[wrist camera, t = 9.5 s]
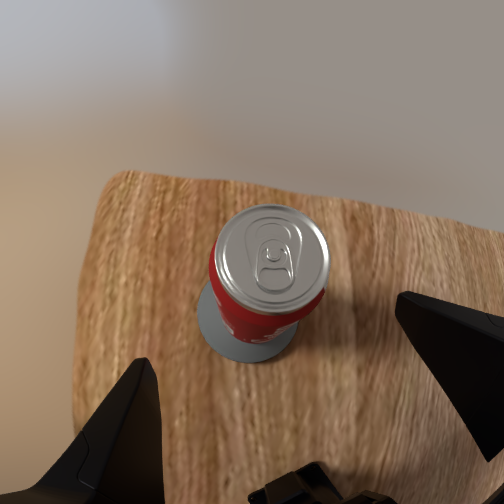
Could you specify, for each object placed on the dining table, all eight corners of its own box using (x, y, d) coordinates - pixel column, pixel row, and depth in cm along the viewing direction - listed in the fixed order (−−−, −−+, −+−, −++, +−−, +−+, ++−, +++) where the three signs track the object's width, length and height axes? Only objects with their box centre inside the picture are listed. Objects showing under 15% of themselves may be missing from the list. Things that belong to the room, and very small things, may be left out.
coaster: (314, 330, 22) (317, 329, 22) (229, 380, 20) (229, 381, 20) (265, 251, 25) (266, 247, 24) (182, 294, 23) (180, 291, 22)
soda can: (286, 279, 23) (330, 198, 12) (288, 343, 21) (345, 319, 10) (221, 278, 23) (209, 194, 12) (220, 344, 21) (202, 320, 10)
